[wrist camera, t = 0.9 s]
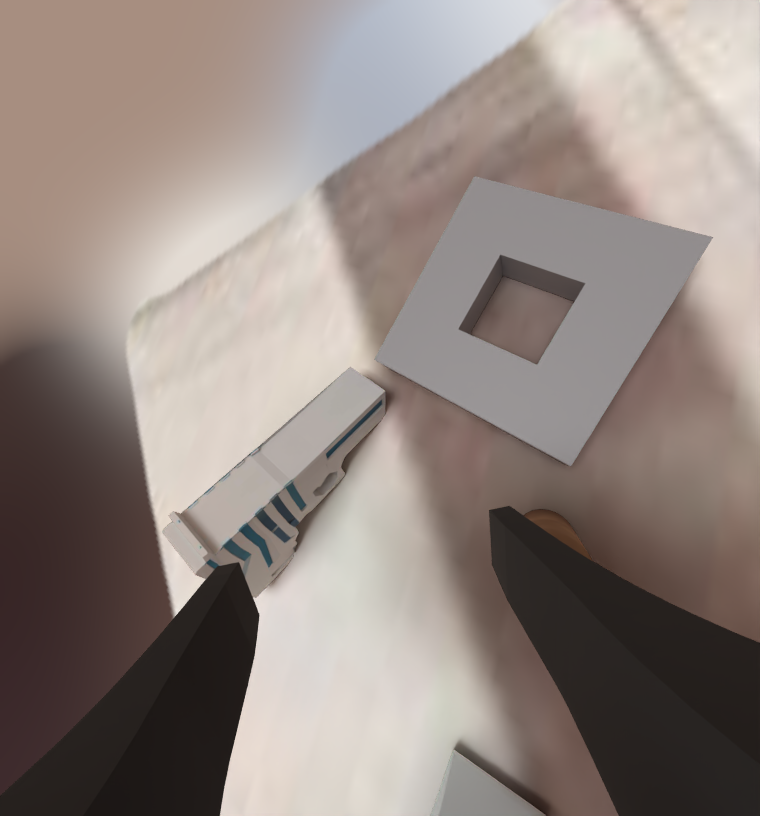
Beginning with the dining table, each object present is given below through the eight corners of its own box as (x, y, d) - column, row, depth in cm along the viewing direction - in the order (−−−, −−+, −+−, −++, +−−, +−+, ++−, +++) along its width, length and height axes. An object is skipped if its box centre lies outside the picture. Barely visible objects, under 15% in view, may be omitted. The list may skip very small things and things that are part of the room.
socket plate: (689, 264, 18) (713, 237, 16) (565, 464, 19) (570, 466, 17) (479, 204, 23) (474, 176, 21) (388, 368, 24) (374, 359, 22)
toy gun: (222, 575, 25) (135, 541, 16) (361, 435, 31) (350, 358, 22) (249, 607, 24) (170, 589, 15) (389, 456, 29) (387, 383, 21)
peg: (587, 531, 19) (613, 564, 13) (557, 579, 19) (570, 631, 13) (532, 498, 20) (535, 516, 14) (504, 543, 20) (497, 578, 14)
